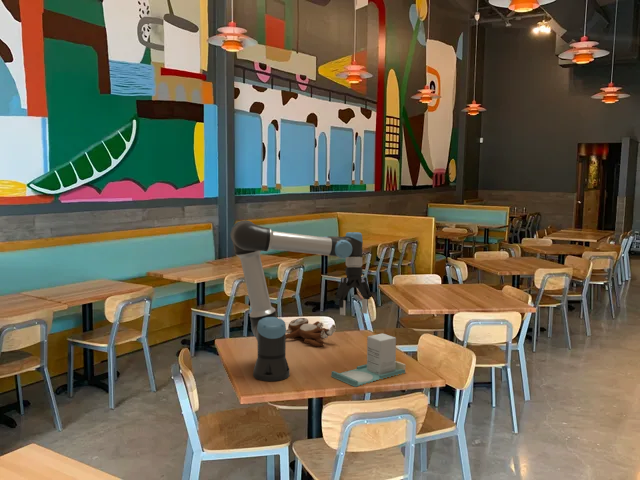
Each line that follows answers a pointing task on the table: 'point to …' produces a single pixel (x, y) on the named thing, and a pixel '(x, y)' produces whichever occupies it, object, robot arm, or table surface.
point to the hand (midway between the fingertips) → (353, 314)
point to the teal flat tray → (365, 375)
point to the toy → (309, 331)
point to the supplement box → (381, 353)
